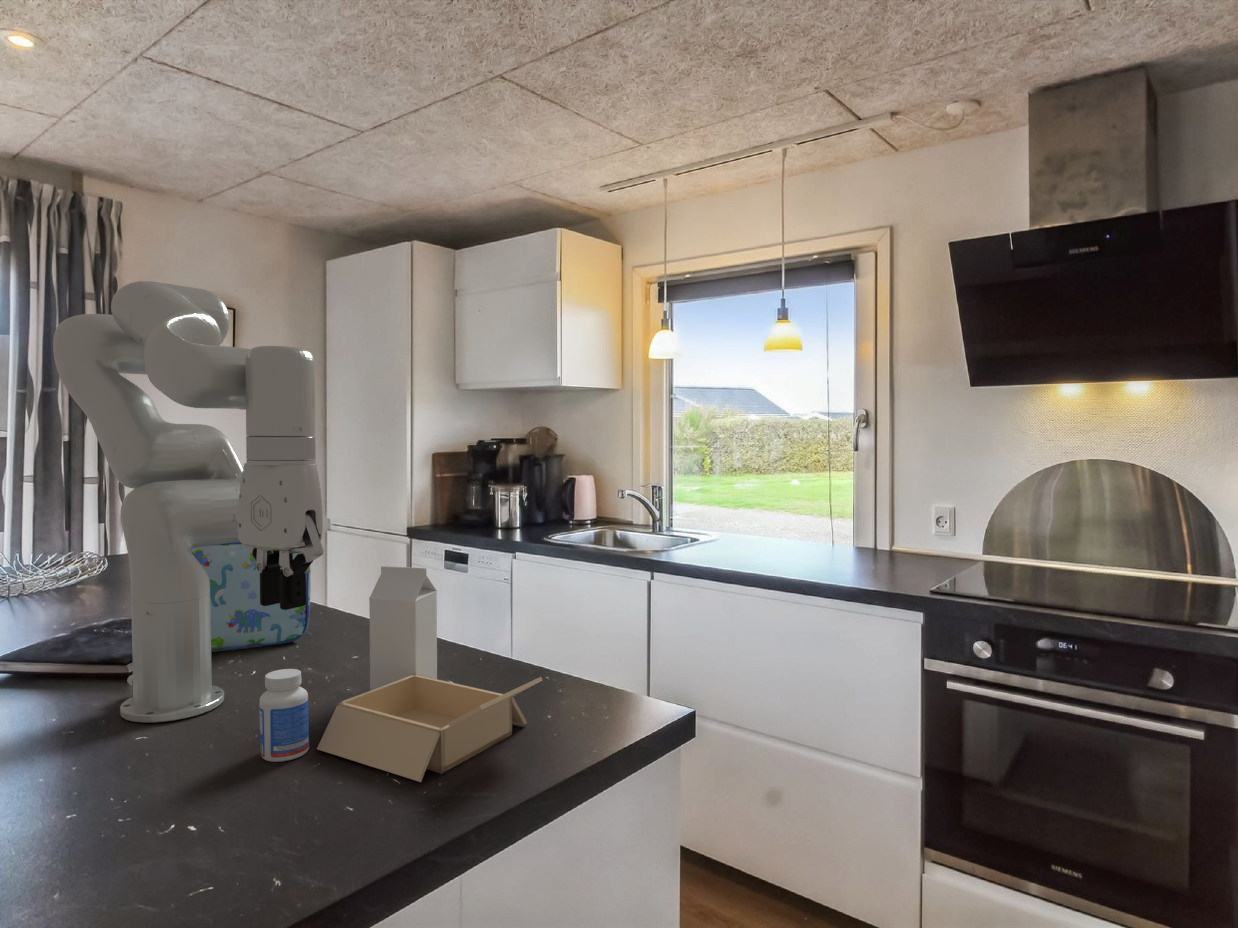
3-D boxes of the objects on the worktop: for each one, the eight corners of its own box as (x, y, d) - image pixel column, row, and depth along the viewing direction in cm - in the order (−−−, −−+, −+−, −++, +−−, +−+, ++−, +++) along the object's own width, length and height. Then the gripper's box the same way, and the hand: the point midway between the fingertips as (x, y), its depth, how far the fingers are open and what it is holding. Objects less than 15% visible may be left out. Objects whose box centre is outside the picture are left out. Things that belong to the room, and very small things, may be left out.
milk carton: (415, 705, 109) (415, 572, 108) (369, 701, 111) (368, 570, 110) (437, 689, 116) (436, 564, 115) (393, 685, 117) (393, 562, 117)
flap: (448, 722, 88) (479, 705, 86) (510, 692, 98) (540, 676, 96) (449, 726, 88) (481, 709, 85) (512, 696, 98) (542, 680, 95)
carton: (296, 746, 95) (296, 706, 95) (414, 697, 112) (414, 663, 112) (419, 785, 85) (419, 741, 85) (528, 725, 102) (528, 688, 102)
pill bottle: (318, 747, 95) (318, 669, 94) (286, 765, 90) (285, 683, 89) (283, 741, 96) (282, 664, 96) (249, 758, 91) (248, 677, 91)
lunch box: (306, 629, 149) (305, 522, 148) (315, 643, 140) (314, 528, 139) (149, 648, 136) (146, 530, 135) (147, 664, 127) (145, 538, 126)
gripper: (209, 451, 92) (211, 603, 93) (300, 454, 84) (301, 621, 85) (265, 449, 99) (267, 592, 99) (354, 453, 91) (355, 608, 91)
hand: (283, 604), depth 92 cm, fingers open, 2 cm apart
